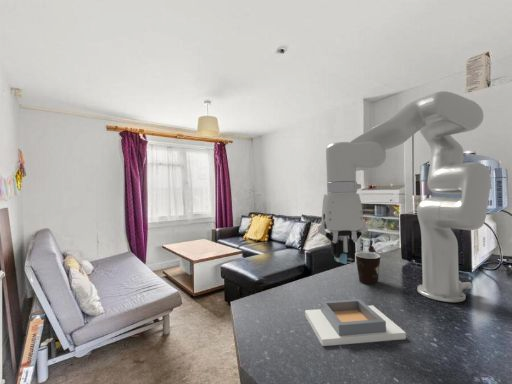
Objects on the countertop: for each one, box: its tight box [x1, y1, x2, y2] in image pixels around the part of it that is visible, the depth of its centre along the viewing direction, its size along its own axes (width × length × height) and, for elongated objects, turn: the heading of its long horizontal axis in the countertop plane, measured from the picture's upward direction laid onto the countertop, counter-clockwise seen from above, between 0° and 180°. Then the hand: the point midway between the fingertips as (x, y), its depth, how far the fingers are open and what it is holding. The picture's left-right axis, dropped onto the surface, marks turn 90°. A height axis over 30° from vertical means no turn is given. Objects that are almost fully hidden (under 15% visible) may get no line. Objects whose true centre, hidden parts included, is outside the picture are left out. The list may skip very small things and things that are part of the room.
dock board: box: [304, 298, 407, 347], centre depth 64 cm, size 20×14×4 cm
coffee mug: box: [355, 252, 381, 286], centre depth 94 cm, size 12×9×10 cm
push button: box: [333, 230, 354, 265], centre depth 68 cm, size 7×5×10 cm
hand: (343, 255), depth 68 cm, fingers closed on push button, 3 cm apart
